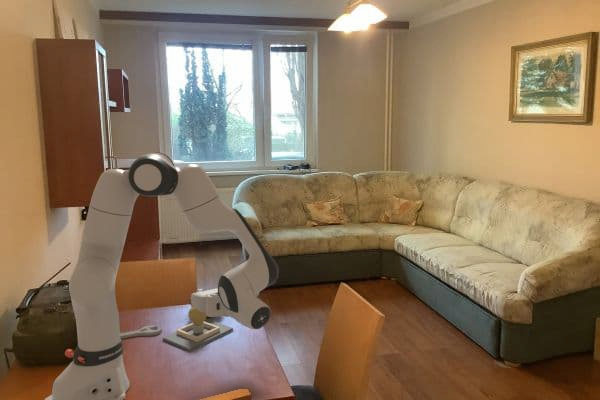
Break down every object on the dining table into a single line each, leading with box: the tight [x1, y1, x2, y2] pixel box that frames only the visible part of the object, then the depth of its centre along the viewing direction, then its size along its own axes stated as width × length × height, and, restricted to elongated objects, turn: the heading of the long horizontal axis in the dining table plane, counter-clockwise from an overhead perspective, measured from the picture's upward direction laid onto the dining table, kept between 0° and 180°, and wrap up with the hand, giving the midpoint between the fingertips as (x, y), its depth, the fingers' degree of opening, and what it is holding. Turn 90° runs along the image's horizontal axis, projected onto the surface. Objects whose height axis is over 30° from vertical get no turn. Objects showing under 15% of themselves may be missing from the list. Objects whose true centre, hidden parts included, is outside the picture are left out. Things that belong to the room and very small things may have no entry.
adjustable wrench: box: [120, 324, 163, 340], centre depth 180 cm, size 25×6×2 cm, turn 110°
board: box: [162, 317, 234, 352], centre depth 180 cm, size 20×14×2 cm
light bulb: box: [188, 306, 208, 334], centre depth 179 cm, size 6×6×10 cm
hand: (211, 288), depth 167 cm, fingers open, 8 cm apart
